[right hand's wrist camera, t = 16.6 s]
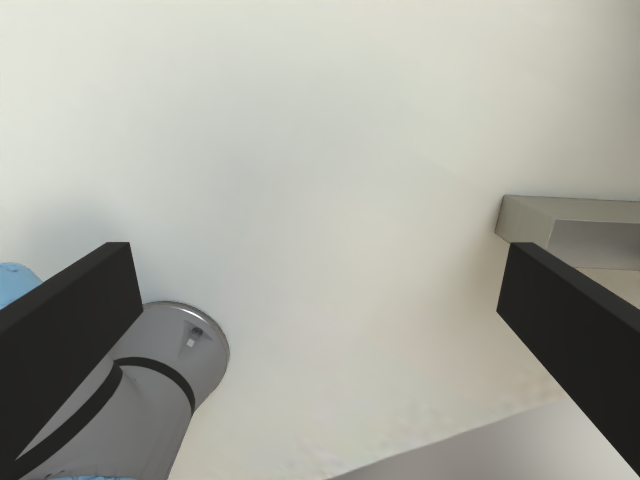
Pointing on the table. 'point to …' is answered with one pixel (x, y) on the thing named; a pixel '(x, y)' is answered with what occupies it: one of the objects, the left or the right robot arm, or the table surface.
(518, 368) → the table surface
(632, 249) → the bar
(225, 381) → the table surface
